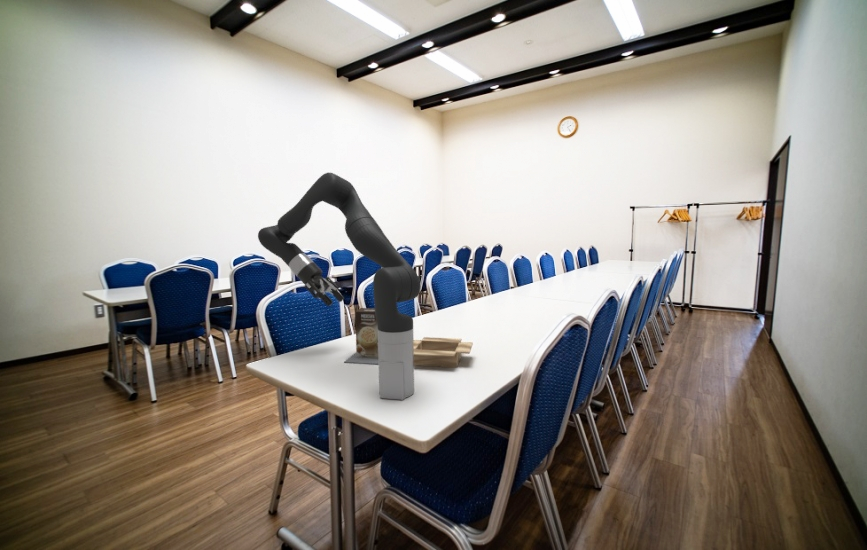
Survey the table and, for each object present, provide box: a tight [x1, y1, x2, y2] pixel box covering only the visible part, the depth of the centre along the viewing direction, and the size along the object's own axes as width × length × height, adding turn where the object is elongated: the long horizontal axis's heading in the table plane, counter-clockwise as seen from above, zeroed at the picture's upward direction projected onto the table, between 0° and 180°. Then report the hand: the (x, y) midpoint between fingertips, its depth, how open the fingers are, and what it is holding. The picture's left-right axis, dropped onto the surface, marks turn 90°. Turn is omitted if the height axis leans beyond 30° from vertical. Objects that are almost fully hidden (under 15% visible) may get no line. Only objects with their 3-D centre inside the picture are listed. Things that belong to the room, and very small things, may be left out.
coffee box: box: [355, 307, 378, 358], centre depth 127 cm, size 9×6×16 cm
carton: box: [413, 336, 474, 368], centre depth 123 cm, size 19×22×5 cm
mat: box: [343, 352, 379, 366], centre depth 127 cm, size 15×14×1 cm
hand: (336, 302), depth 128 cm, fingers open, 8 cm apart
